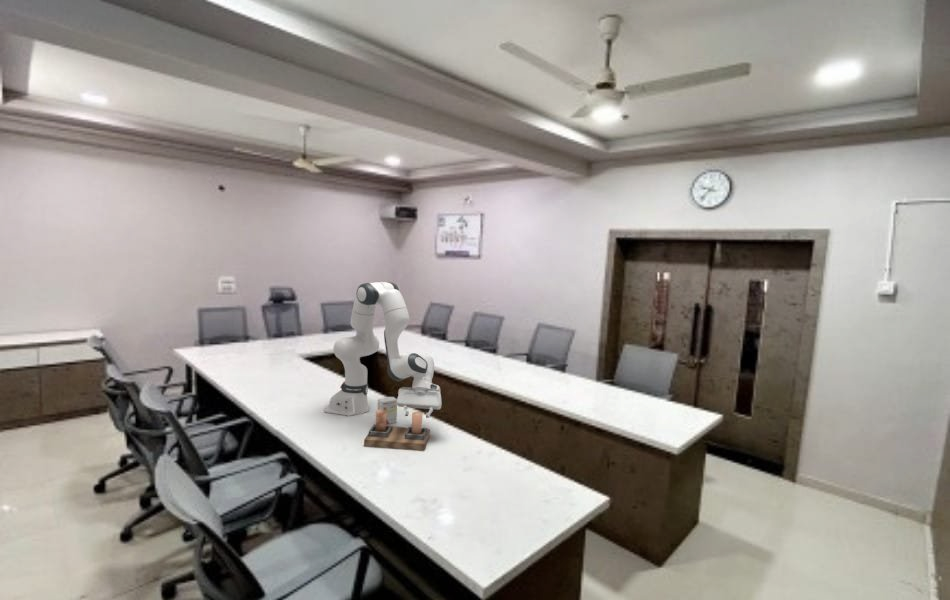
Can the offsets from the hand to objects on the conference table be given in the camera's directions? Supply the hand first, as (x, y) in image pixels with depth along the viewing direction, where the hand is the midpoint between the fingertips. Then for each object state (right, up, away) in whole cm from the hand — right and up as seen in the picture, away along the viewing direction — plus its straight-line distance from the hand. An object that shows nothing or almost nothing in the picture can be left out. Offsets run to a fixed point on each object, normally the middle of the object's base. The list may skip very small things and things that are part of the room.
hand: (416, 416), depth 200 cm
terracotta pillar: (0, -9, 0) cm, 9 cm away
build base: (-8, -11, +1) cm, 14 cm away
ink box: (-18, -9, +21) cm, 29 cm away
